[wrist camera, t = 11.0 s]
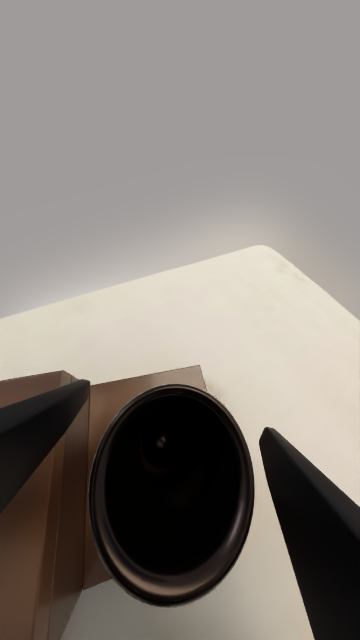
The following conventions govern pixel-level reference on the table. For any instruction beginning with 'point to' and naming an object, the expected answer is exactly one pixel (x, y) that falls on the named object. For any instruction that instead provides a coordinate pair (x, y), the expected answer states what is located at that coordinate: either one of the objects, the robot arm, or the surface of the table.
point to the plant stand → (60, 509)
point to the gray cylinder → (171, 495)
